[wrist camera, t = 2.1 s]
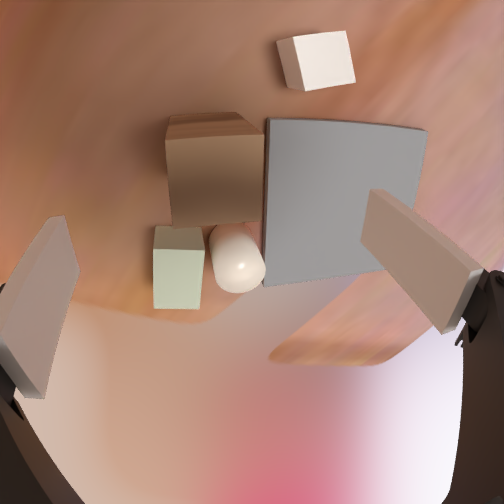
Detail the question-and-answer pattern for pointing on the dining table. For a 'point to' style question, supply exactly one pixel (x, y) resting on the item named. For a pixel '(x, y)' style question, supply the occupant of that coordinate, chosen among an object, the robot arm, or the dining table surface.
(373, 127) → the grey mat
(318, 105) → the dining table surface
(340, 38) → the white cube
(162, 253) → the sage block
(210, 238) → the cream cylinder
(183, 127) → the walnut block
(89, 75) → the dining table surface
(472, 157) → the dining table surface
